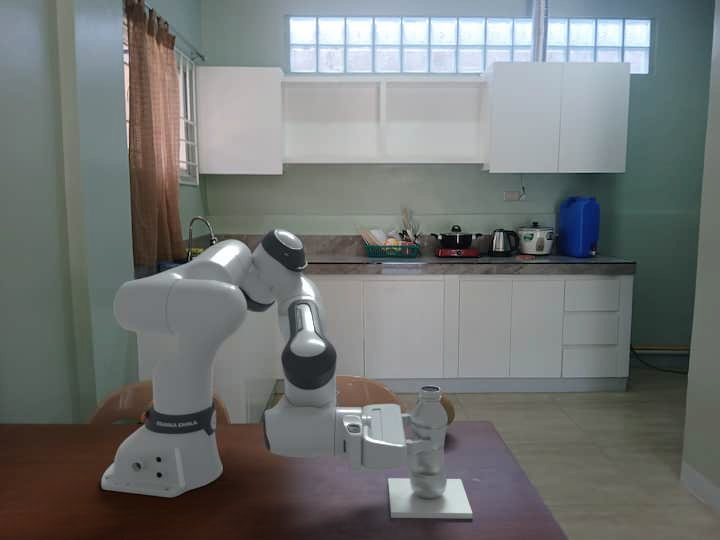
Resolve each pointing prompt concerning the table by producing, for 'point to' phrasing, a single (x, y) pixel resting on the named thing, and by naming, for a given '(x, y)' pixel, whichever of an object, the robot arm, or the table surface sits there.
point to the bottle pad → (428, 501)
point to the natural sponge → (446, 407)
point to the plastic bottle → (432, 424)
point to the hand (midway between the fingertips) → (429, 433)
